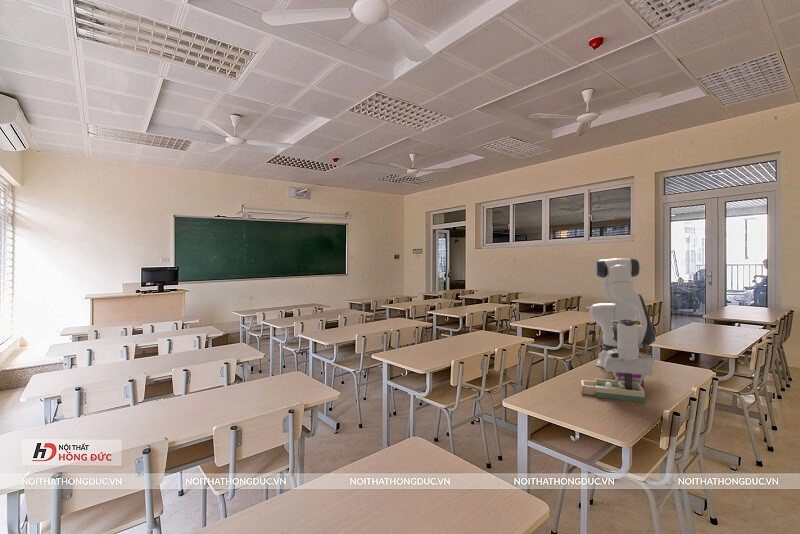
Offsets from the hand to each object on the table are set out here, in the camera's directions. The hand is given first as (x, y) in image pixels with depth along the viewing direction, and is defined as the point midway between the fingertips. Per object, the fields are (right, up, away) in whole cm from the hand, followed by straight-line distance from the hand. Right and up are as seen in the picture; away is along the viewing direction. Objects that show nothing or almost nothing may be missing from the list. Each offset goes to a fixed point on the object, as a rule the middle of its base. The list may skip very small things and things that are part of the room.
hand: (628, 382), depth 177 cm
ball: (-8, -3, +3) cm, 9 cm away
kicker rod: (-1, -4, +1) cm, 4 cm away
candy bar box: (+10, -6, +15) cm, 19 cm away
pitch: (-7, -7, +3) cm, 10 cm away
